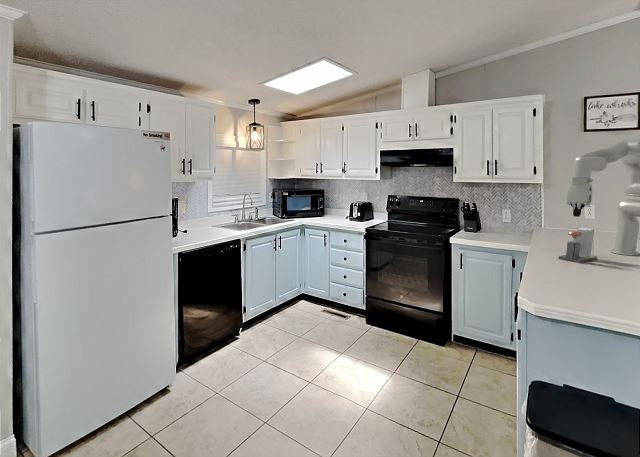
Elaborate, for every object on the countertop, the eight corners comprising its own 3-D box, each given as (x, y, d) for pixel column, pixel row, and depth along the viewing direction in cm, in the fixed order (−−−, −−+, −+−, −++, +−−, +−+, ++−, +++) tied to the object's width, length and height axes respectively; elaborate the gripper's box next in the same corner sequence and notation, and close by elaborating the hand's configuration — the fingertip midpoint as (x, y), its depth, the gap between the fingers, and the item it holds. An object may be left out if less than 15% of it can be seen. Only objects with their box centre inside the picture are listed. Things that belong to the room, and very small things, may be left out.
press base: (574, 255, 205) (576, 238, 203) (597, 259, 196) (599, 241, 194) (558, 259, 197) (560, 241, 195) (580, 263, 187) (583, 244, 186)
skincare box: (578, 253, 203) (581, 227, 200) (591, 255, 198) (594, 228, 196) (573, 255, 198) (576, 228, 195) (586, 257, 193) (589, 230, 191)
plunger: (570, 248, 196) (571, 230, 195) (582, 250, 191) (584, 232, 190) (564, 249, 193) (566, 231, 192) (576, 251, 188) (578, 233, 187)
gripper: (601, 181, 182) (596, 217, 185) (569, 180, 195) (565, 214, 198) (593, 181, 178) (589, 218, 181) (561, 180, 191) (557, 215, 194)
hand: (576, 216), depth 189 cm, fingers closed
